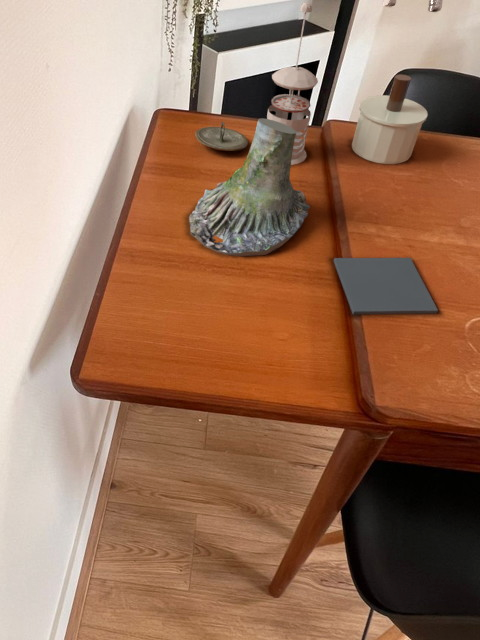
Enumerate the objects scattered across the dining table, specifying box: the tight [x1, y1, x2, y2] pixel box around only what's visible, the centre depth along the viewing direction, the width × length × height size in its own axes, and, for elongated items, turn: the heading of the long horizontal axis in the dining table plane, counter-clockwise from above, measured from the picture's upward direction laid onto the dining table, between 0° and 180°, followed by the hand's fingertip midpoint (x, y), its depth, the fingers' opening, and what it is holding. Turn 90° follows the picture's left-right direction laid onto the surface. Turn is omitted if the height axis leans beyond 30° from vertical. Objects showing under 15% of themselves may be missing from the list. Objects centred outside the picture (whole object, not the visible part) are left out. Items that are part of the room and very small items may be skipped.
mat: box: [333, 257, 439, 315], centre depth 77 cm, size 12×12×1 cm
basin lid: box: [358, 74, 429, 127], centre depth 98 cm, size 13×13×7 cm
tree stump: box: [188, 117, 312, 257], centre depth 83 cm, size 18×20×18 cm
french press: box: [266, 1, 319, 166], centre depth 94 cm, size 10×12×25 cm
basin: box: [351, 111, 423, 165], centre depth 103 cm, size 12×12×8 cm
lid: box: [194, 121, 249, 152], centre depth 102 cm, size 11×10×5 cm
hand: (412, 8), depth 92 cm, fingers open, 8 cm apart
